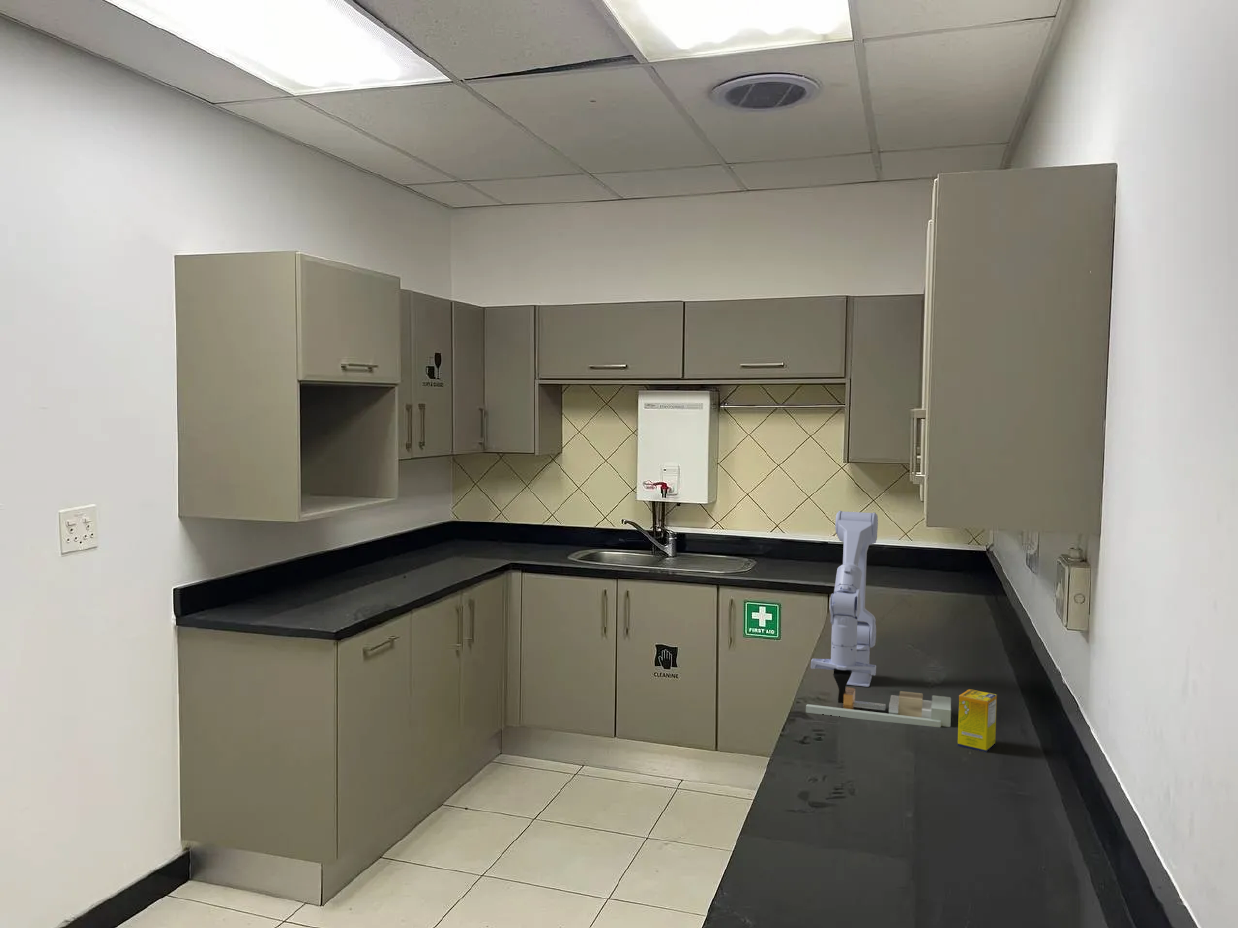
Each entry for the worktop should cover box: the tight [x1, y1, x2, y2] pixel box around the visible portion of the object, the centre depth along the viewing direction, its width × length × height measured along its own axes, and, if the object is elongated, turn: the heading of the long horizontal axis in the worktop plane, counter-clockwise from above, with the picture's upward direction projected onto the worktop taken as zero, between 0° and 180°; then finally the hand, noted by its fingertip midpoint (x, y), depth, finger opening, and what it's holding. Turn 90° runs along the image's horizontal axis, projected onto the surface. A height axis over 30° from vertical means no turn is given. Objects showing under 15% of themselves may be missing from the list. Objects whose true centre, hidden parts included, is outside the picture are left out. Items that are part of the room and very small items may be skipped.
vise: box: [805, 695, 952, 728], centre depth 210 cm, size 11×31×4 cm, turn 70°
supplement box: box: [957, 688, 998, 753], centre depth 189 cm, size 6×6×11 cm
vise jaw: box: [842, 686, 899, 715], centre depth 211 cm, size 8×12×4 cm, turn 70°
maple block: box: [898, 690, 924, 718], centre depth 208 cm, size 5×5×5 cm
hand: (842, 701), depth 213 cm, fingers closed, pressing on vise jaw
